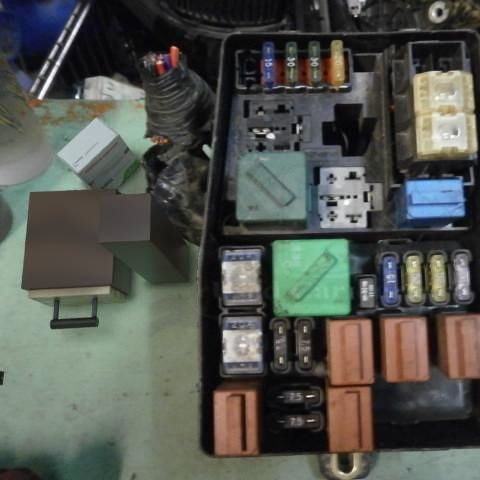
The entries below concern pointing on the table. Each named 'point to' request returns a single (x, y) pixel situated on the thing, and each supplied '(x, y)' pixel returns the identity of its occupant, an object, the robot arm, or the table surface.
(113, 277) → the cabinet
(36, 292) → the drawer
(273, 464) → the table surface
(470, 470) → the table surface
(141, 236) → the post
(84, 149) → the ink box
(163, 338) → the table surface
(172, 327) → the table surface
